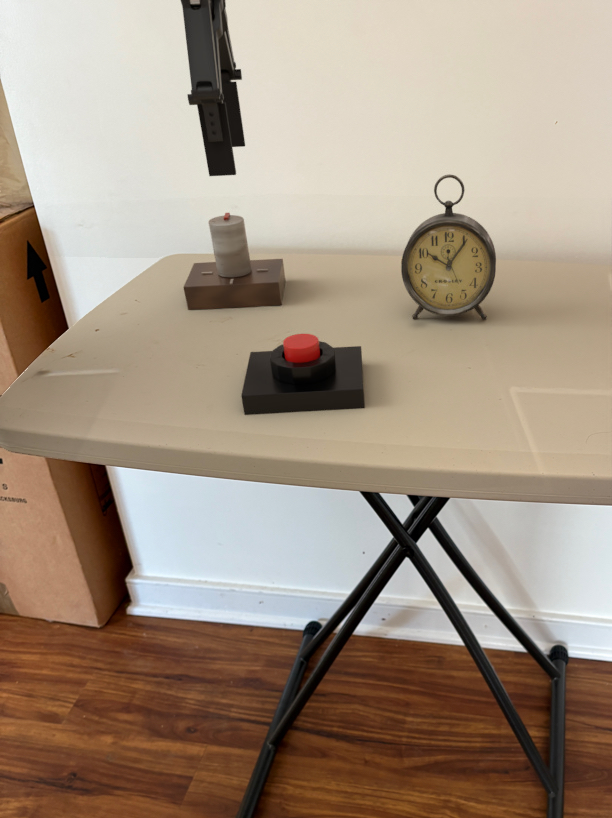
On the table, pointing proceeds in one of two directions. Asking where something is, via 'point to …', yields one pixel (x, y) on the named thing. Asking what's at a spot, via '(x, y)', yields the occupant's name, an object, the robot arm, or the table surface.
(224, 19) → the robot arm
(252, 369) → the switch block
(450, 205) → the alarm clock
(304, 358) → the light button
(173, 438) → the table surface
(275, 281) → the panel
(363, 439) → the table surface
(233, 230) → the dimmer knob
